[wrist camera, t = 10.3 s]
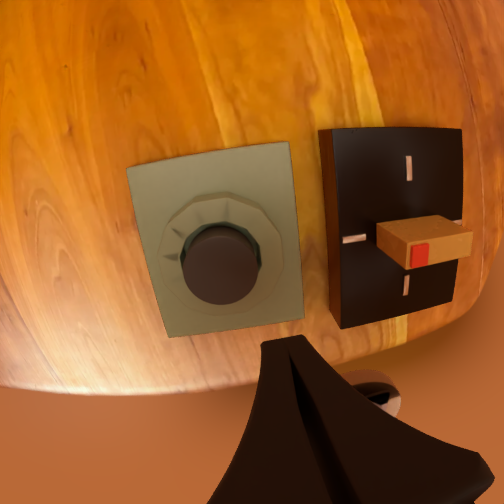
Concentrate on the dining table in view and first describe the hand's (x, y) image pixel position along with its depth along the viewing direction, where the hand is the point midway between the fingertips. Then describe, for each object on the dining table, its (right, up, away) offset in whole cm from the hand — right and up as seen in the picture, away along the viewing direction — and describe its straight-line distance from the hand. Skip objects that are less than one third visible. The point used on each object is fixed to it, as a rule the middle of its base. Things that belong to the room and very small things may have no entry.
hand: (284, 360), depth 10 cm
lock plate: (+8, +6, +10) cm, 14 cm away
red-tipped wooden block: (+8, +5, +7) cm, 12 cm away
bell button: (-3, +3, +7) cm, 8 cm away
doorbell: (-3, +4, +9) cm, 11 cm away
